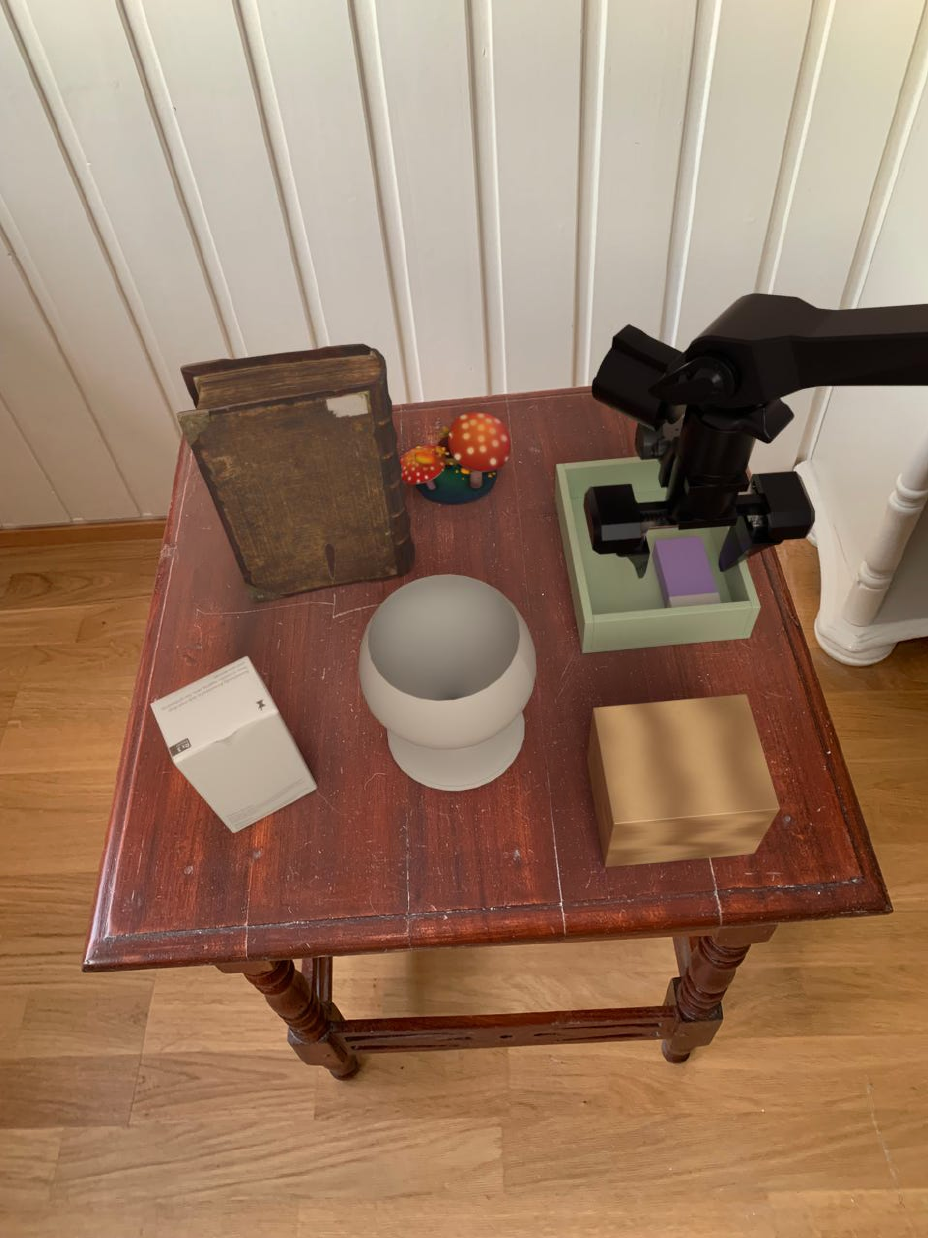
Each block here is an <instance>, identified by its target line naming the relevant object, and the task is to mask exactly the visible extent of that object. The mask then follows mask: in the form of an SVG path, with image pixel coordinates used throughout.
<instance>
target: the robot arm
mask: <svg viewBox="0 0 928 1238" xmlns="http://www.w3.org/2000/svg"><path fill="white" fill-rule="evenodd" d="M818 387H819V388H820V387H928V303H916V304H902V305H888V306H873V307H860V308H857V307H856V308H843V309H842V308H841V309H830V308H822V307H821V308H820V307H816V306H815V305H813V304H811V303H809V302H808V301H806V300H804V299H803V298H800V297H798V296H793V295H782V294H772V293H770V294H769V293H762V292H761V293H759V292H757V293H756V292H753V293H748V294H745V295H742V296H740V297H739V298H737V299H736V300H735V301H733V303H731V304H730V305H729V306H728V307H727V308H726V309H725V310H724V311H723V312H721V314H719V316H717V317H716V318H715V319H714V320H713V321H711V323H710V324H708V325H707V327H705V328H704V329H703V330H702V331H701V332H700V333H699V334H698V335H697V336H696V337H695V338H694V339H692V341H691V342H690V344H689V345H688V347H687V348H686V349H685V350H684V351H681V350H680V349H677V348H675V347H673V346H671V345H669V344H667V343H664V342H663V341H661V340H659V339H657V338H654V337H653V336H651V335H648V334H647V333H646V332H645V331H643V330H642V329H640V328H639V327H637V326H634V325H633V324H630V323H628V324H625V325H624V326H623V327H622V328H621V329H620V330H619V331H618V332H616V333H615V334H614V335H612V338H611V347H610V348H609V349H608V351H607V353H606V354H605V356H604V358H603V360H602V361H601V363H600V365H599V368H598V370H597V372H596V375H595V376H594V377H593V379H592V382H591V395H592V398H593V399H594V400H595V401H597V402H598V403H600V404H602V405H604V406H606V407H608V408H610V409H611V410H614V411H616V412H618V413H619V414H621V415H623V416H625V417H627V418H629V419H630V420H633V421H634V422H636V423H637V425H636V428H635V434H634V451H635V452H636V454H637V457H639V458H640V459H641V460H652V459H657V460H658V462H659V463H660V465H661V466H660V471H659V475H658V480H659V483H660V487H661V488H667V492H666V497H665V501H654V502H641V503H638V502H637V501H636V499H635V495H634V491H633V487H632V484H629V483H628V484H615V485H602V486H590V487H589V489H588V490H587V491H586V492H585V495H584V503H583V507H584V512H585V517H586V522H587V527H588V531H589V536H590V541H591V546H592V550H593V551H595V552H596V553H598V554H600V555H603V554H616V555H617V556H618V557H627V558H628V559H629V560H630V561H631V562H632V564H633V565H634V567H635V570H636V573H637V576H638V579H641V578H643V577H644V575H645V573H646V569H647V565H648V561H649V557H650V549H649V545H648V541H647V538H646V534H647V531H648V530H655V529H668V528H678V530H688V529H701V528H713V527H726V526H730V528H729V530H728V533H727V536H726V538H725V541H724V544H723V546H722V549H721V552H720V556H719V561H718V566H719V569H720V572H725V571H727V570H729V569H730V568H732V567H734V566H735V565H737V564H739V563H740V562H742V561H744V560H745V559H746V560H747V559H749V558H751V557H753V556H755V555H757V554H759V553H762V552H764V551H765V550H767V549H769V548H771V547H775V546H780V545H782V544H783V543H784V541H791V540H805V539H807V537H808V536H809V535H810V534H811V531H812V529H813V526H814V525H815V522H816V510H815V508H814V505H813V502H812V500H811V497H810V495H809V492H808V490H807V488H806V485H805V482H804V480H803V477H802V476H801V475H800V473H799V472H798V471H796V470H785V471H773V472H772V471H771V472H759V473H758V472H757V473H752V474H751V477H750V479H749V476H748V472H747V469H748V466H749V463H750V460H751V457H752V453H753V450H754V447H755V444H756V441H757V440H758V441H760V442H762V443H764V444H767V445H769V444H771V443H772V442H774V441H775V439H776V438H777V437H778V436H779V435H780V434H781V433H782V432H783V431H784V430H785V429H786V427H787V426H788V425H790V423H791V422H792V421H793V420H794V419H795V413H794V412H793V411H792V409H791V407H790V405H788V404H787V403H786V402H784V401H783V400H782V398H784V397H787V396H789V395H792V394H794V393H797V392H800V391H802V390H806V389H807V390H808V389H812V388H818Z"/></svg>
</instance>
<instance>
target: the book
mask: <svg viewBox="0 0 928 1238" xmlns="http://www.w3.org/2000/svg"><path fill="white" fill-rule="evenodd" d="M179 371H180V374H181V376H182V379H183V381H184V384H185V387H186V389H187V392H188V395H189V396H190V398H191V400H192V403H193V406H194V408H195V409H189V410H183V411H179V412H177V413H176V417H177V422H178V425H179V427H180V429H181V432H182V434H183V436H184V438H185V441H186V443H187V445H188V447H190V449H191V452H192V454H193V456H194V458H195V461H196V464H197V466H198V467H197V468H198V469H199V472H200V475H201V477H202V479H203V481H204V483H205V485H206V488H207V490H208V492H209V496H210V497H211V501H212V503H213V505H214V508H215V511H216V512H217V515H218V517H219V520H220V522H221V525H222V527H223V530H224V532H225V535H226V538H227V541H228V543H229V545H230V547H231V551H232V552H233V556H234V559H235V562H236V564H237V567H238V568H239V571H240V572H241V575H242V578H243V582H244V585H245V588H246V591H247V593H248V595H249V598H250V600H251V603H259V602H268V601H273V600H274V601H275V600H279V599H285V598H289V597H294V596H297V595H302V594H306V593H310V592H314V591H319V590H323V589H330V588H336V587H340V586H346V585H352V584H359V583H377V582H383V581H389V580H394V579H397V578H401V577H402V576H404V575H405V574H406V573H408V572H409V571H410V570H412V568H413V567H414V566H413V565H414V562H415V557H416V556H415V555H416V548H415V547H416V546H415V544H414V541H413V539H412V535H411V518H410V515H409V511H408V510H407V509H408V508H407V493H406V489H405V487H404V482H403V481H402V464H401V462H400V459H401V458H400V456H399V451H398V440H399V438H398V433H397V431H396V430H397V429H396V427H395V426H394V419H393V412H394V411H393V401H392V398H391V396H390V393H389V384H388V368H387V361H386V359H385V356H384V355H383V354H382V353H381V352H380V351H379V350H378V348H375V347H371V346H369V345H368V344H365V343H349V344H338V345H337V344H336V345H329V346H328V345H327V346H323V347H320V348H313V349H304V350H294V351H285V352H278V353H270V354H263V355H254V356H247V357H240V358H217V359H210V360H205V361H199V362H192V363H188V364H183V365H181V366H180V368H179Z"/></svg>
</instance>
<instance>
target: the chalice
mask: <svg viewBox="0 0 928 1238" xmlns="http://www.w3.org/2000/svg"><path fill="white" fill-rule="evenodd" d="M374 611H375V612H374V613H373V614H372V616H371V618H370V619H369V621H368V622H367V625H366V626H365V627H366V628H365V631H364V634H363V636H362V639H361V642H360V646H359V656H358V657H359V658H358V679H359V683H360V688H361V693H362V695H363V698H364V699H365V701H366V704H367V706H368V708H369V710H370V712H371V714H372V715H373V716H374V717H375V718H376V719H377V721H379V723H380V724H381V725H382V727H384V728H385V729H386V735H387V742H388V748H389V750H390V752H391V755H392V757H393V760H394V761H395V762H396V763H397V765H398V766H399V768H400V769H401V770H402V771H403V772H404V773H405V774H407V776H409V777H410V778H411V779H412V780H414V781H416V782H417V783H420V784H422V785H424V786H426V787H428V788H432V789H436V790H439V791H449V792H461V791H467V790H473V789H477V788H479V787H481V786H484V785H486V784H489V783H491V782H492V781H494V780H496V779H497V778H498V777H499V776H501V775H503V774H504V773H505V772H506V771H507V770H508V769H509V767H510V766H511V765H512V764H513V763H514V761H515V760H516V759H517V756H518V755H519V753H520V751H521V750H522V746H523V743H524V738H525V724H526V723H525V717H524V714H523V711H524V710H525V708H526V706H527V704H528V702H529V700H530V699H531V696H532V694H533V690H534V686H535V683H536V677H537V656H536V653H537V652H536V647H535V644H534V641H533V639H532V638H533V637H532V636H531V633H530V629H529V627H528V625H527V622H526V621H525V619H524V617H522V615H521V613H520V612H519V610H518V609H517V607H516V605H515V604H514V603H513V602H512V601H511V600H510V599H508V597H506V596H505V595H504V594H503V593H502V592H501V591H500V590H498V589H497V588H496V587H494V586H492V585H490V584H488V583H487V582H484V580H483V581H482V580H480V579H477V578H473V577H470V576H467V575H460V574H451V573H450V574H448V573H446V574H433V575H429V576H426V577H421V578H418V579H415V580H413V581H411V582H408V583H406V584H403V585H402V586H401V587H399V588H398V589H396V590H395V591H393V592H392V593H390V594H389V595H388V596H387V597H386V598H385V599H384V600H383V601H382V602H381V603H380V604H379V605H378V607H376V610H374Z"/></svg>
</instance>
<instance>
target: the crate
mask: <svg viewBox="0 0 928 1238" xmlns="http://www.w3.org/2000/svg"><path fill="white" fill-rule="evenodd" d="M586 763H587V770H588V775H589V782H590V787H591V793H592V800H593V805H594V811H595V812H594V813H595V818H596V824H597V831H598V835H599V841H600V847H601V853H602V860H603V866H604V867H605V868H612V867H613V868H614V867H624V866H634V865H643V864H644V865H645V864H657V863H668V862H669V863H670V862H679V861H691V860H701V859H711V858H713V859H714V858H723V857H724V858H725V857H735V856H745V855H754V854H755V853H756V851H757V850H758V848H759V847H760V844H761V843H762V841H763V839H764V838H765V836H766V835H767V832H768V830H769V829H770V827H771V825H772V824H773V822H774V821H775V819H776V817H777V815H778V814H779V812H780V810H781V807H780V803H779V800H778V797H777V793H776V790H775V787H774V783H773V779H772V776H771V773H770V770H769V766H768V763H767V760H766V756H765V752H764V749H763V746H762V743H761V739H760V735H759V732H758V728H757V725H756V722H755V719H754V714H753V711H752V708H751V704H750V701H749V697H748V694H747V693H742V694H731V695H730V694H729V695H719V696H710V697H709V696H708V697H698V698H686V699H674V700H665V701H653V702H643V703H630V704H620V705H619V704H618V705H609V706H599V707H593V708H592V714H591V722H590V731H589V738H588V746H587V755H586Z"/></svg>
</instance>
